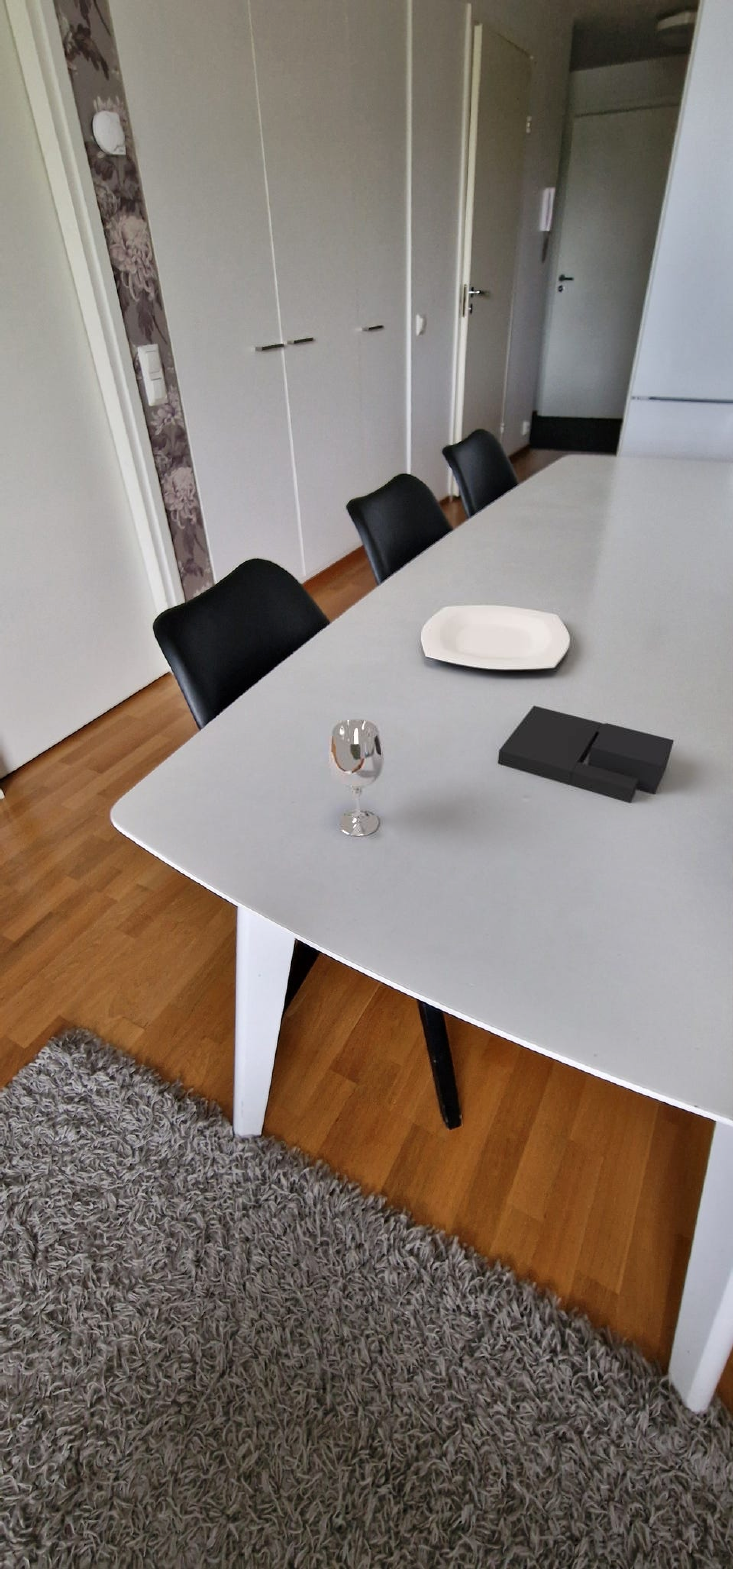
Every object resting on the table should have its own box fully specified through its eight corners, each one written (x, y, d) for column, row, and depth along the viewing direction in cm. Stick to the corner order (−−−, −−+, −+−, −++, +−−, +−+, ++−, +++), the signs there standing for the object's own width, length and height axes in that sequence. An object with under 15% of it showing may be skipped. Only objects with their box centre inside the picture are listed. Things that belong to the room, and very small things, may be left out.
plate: (567, 687, 101) (569, 674, 99) (408, 672, 105) (408, 660, 104) (569, 621, 118) (570, 610, 117) (433, 611, 123) (433, 600, 122)
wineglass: (322, 830, 77) (315, 738, 69) (348, 801, 81) (343, 711, 74) (369, 846, 74) (367, 753, 67) (393, 815, 78) (393, 724, 71)
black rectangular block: (666, 767, 85) (674, 739, 82) (654, 794, 80) (662, 766, 78) (599, 749, 88) (605, 722, 85) (585, 774, 84) (591, 746, 81)
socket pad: (654, 750, 87) (658, 737, 86) (630, 803, 79) (633, 789, 78) (532, 718, 94) (533, 705, 93) (497, 763, 86) (499, 750, 85)
